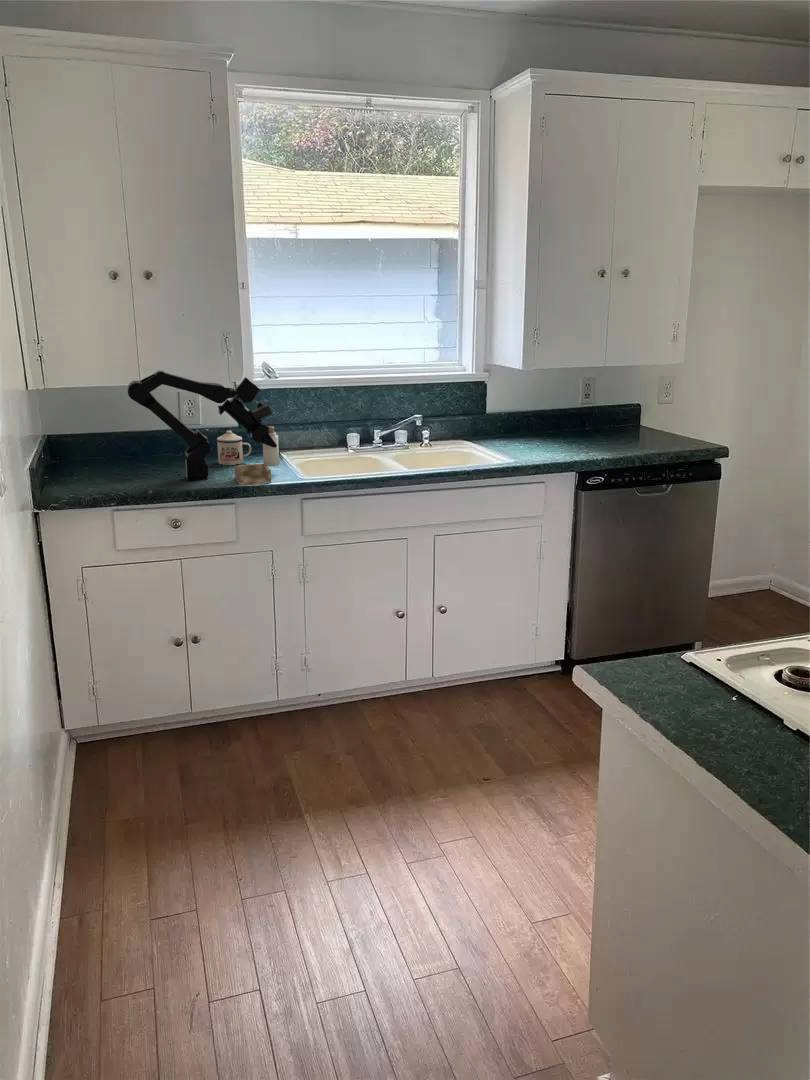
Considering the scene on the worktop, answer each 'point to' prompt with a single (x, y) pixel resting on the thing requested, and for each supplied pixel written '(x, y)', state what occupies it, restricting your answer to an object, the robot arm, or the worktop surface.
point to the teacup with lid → (231, 449)
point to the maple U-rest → (252, 474)
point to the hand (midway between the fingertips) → (274, 445)
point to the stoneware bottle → (271, 450)
